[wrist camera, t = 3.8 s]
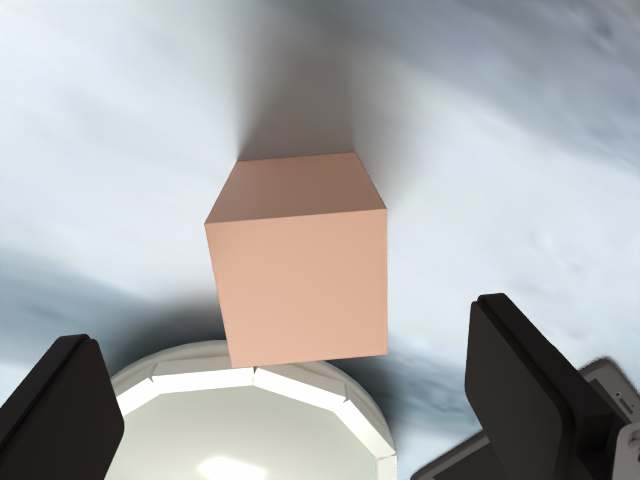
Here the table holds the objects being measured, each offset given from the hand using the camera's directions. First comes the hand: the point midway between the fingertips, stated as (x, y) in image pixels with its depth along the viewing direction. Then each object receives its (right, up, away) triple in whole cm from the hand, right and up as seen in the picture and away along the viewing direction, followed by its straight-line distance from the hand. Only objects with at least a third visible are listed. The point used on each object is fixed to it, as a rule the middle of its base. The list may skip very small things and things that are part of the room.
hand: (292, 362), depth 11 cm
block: (0, +4, +8) cm, 9 cm away
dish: (-4, -10, +14) cm, 18 cm away
